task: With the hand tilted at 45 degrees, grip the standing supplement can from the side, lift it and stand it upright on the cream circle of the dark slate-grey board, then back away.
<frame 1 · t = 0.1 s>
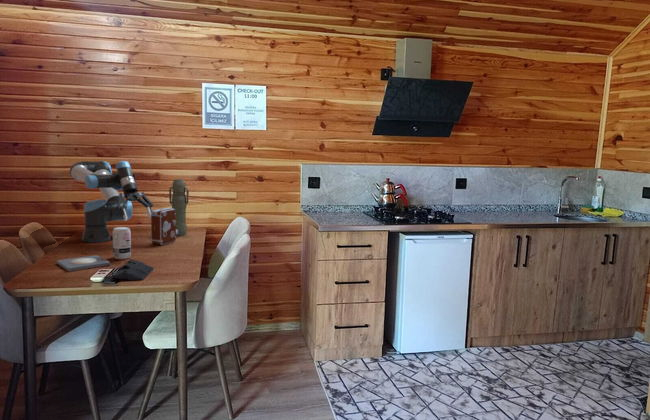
hand: (138, 219, 263), 15 cm above the table, tool tilted 35°, fingers open, 13 cm apart
supplement can: (122, 257, 238), on the table
cine camera: (166, 242, 277), on the table, touching gripper
thermos: (179, 235, 299), on the table
crumpled black cloth: (131, 275, 210), on the table
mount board: (83, 264, 223), on the table
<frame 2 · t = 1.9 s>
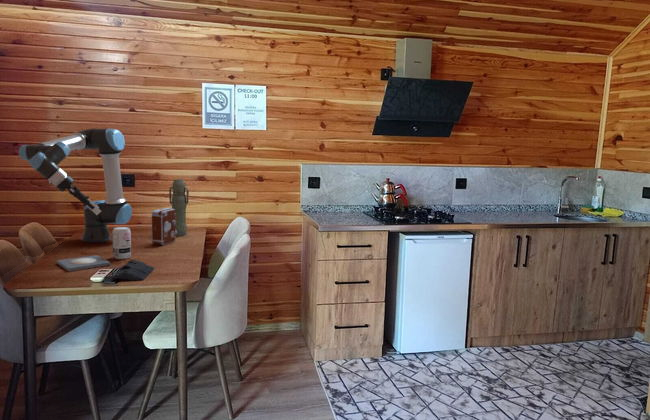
hand: (98, 211, 230), 24 cm above the table, tool tilted 45°, fingers open, 13 cm apart
cine camera: (166, 242, 277), on the table
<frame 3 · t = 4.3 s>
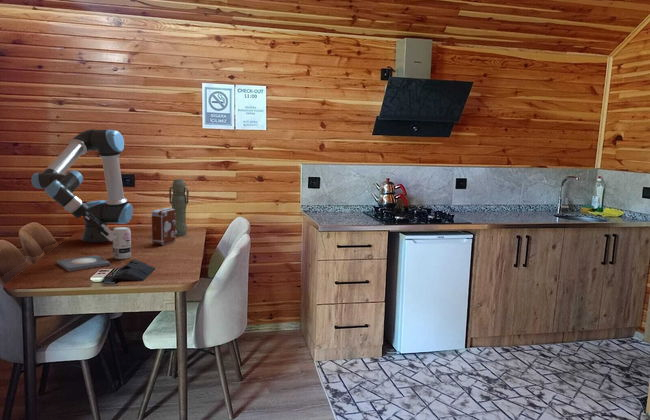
hand: (112, 236, 233), 11 cm above the table, tool tilted 45°, fingers open, 13 cm apart
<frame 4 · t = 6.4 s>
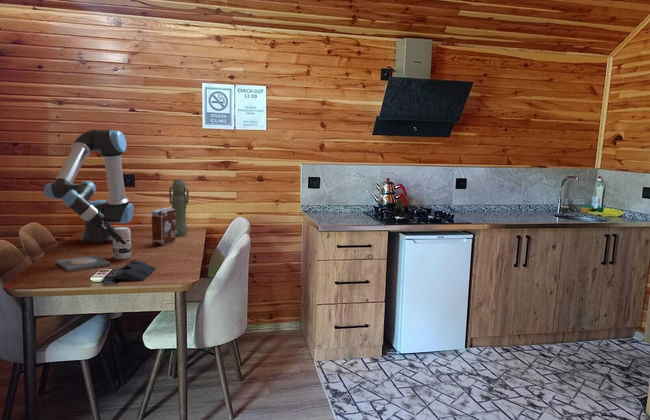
hand: (129, 246, 239), 6 cm above the table, tool tilted 45°, fingers closed on supplement can, 8 cm apart
supplement can: (122, 257, 238), on the table, touching gripper
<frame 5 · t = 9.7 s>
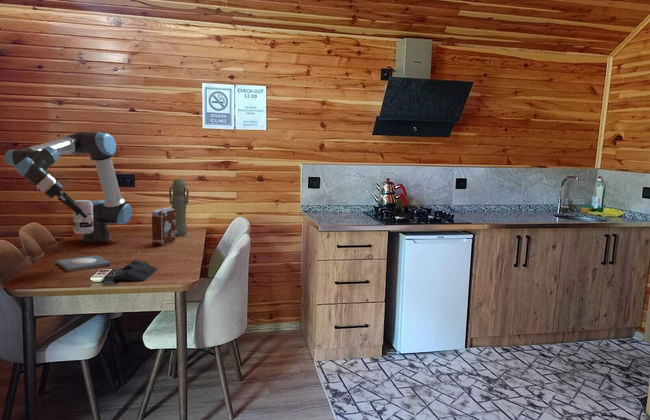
hand: (91, 220, 222), 21 cm above the table, tool tilted 45°, fingers closed on supplement can, 8 cm apart
supplement can: (83, 233, 221), point 15 cm above the table, touching gripper
when the fingers open (9 cm above the table, at t = 13.1 s): supplement can drops 1 cm, resting on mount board.
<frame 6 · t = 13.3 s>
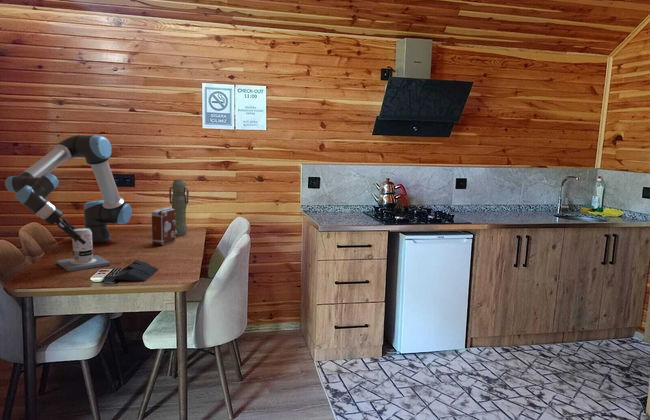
hand: (90, 245, 223), 9 cm above the table, tool tilted 45°, fingers open, 10 cm apart
supplement can: (83, 261, 223), point 2 cm above the table, touching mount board
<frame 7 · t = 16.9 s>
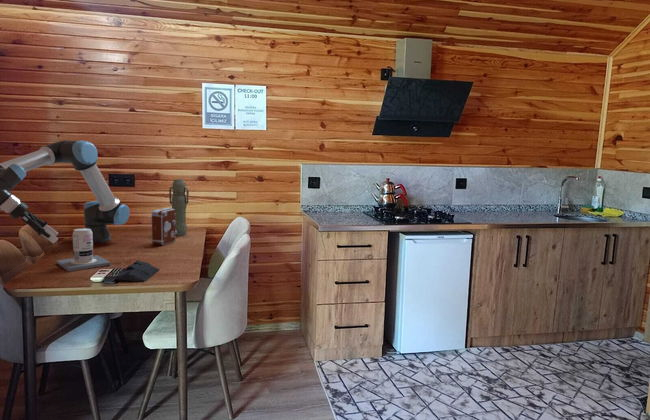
hand: (56, 238, 216), 13 cm above the table, tool tilted 45°, fingers open, 13 cm apart
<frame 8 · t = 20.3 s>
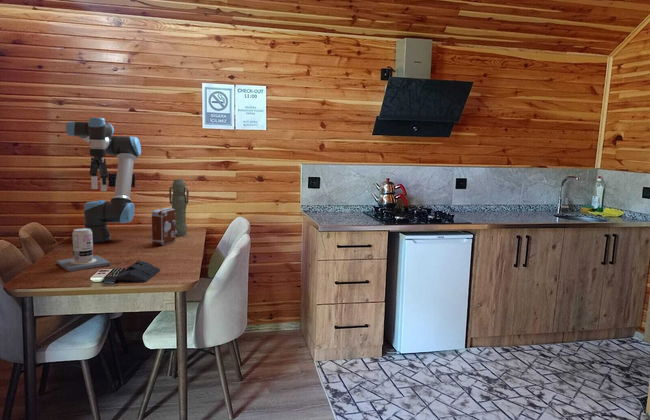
hand: (99, 190, 244), 33 cm above the table, tool pointing down, fingers open, 13 cm apart
at the end: supplement can 0.0 cm from the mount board (horizontally); supplement can tilted 0°; the gripper is holding nothing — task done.
